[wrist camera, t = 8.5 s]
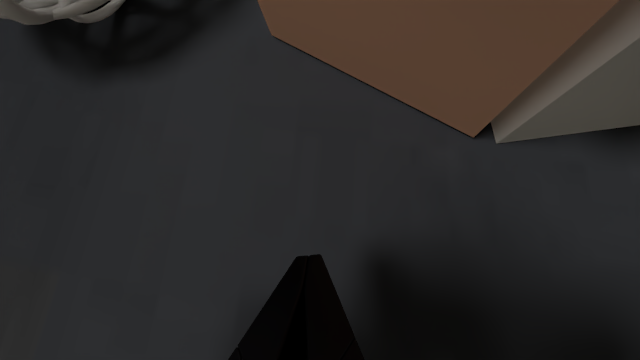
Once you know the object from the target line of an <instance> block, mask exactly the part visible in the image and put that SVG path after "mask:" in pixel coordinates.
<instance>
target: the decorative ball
mask: <svg viewBox="0 0 640 360" xmlns="http://www.w3.org/2000/svg"><path fill="white" fill-rule="evenodd" d="M107 1H109V0H0V18H2V19H12V20H14V21H17V22H20V23H22V24H25V25H38V24H44V23H47V22H50V21H53V20H58V19H66V18H69V19H72V20H74V21H76V22H79V23H94V22H98V21H101V20H103V19H105V18H107V17H109V16H111V15H112V14H113V13H114V12H115V11H117V10H118V9H119V8H120V7H121V5H122V4H123V3H124V2H125V1H126V0H111V2H109V3H108V4H107V5H105V6H104V7H102V8H101V9H99V10H97V11H94V12H92V13H88V14H84V13H86V12H89V11H91V10H94V9H96V8H98V7H99V6H101V5H103V4H104V3H106V2H107Z"/></svg>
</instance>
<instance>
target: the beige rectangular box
mask: <svg viewBox="0 0 640 360" xmlns="http://www.w3.org/2000/svg"><path fill="white" fill-rule="evenodd" d="M636 125H640V0H620V1H618V2H617V3H616V4H615V5H614V6H613V7H612V8H611V9H610V10H609V11H608V12H607V13H606V14H605V15H604V16H602V17H601V18H600V19H599V20H598V21H597V22H596V23H595V24H594V25H593V26H592V27H591V28H590V29H589V30H588V31H586V32H585V33H584V34H583V35H582V36H581V37H580V38H579V39H578V40H577V41H576V42H575V43H574V44H573V45H572V46H571V47H569V48H568V49H567V50H566V51H565V52H564V53H563V54H562V55H561V56H560V57H559V58H558V59H557V60H556V61H555V62H553V63H552V64H551V65H550V66H549V67H548V68H547V69H546V70H545V71H544V72H543V73H542V74H541V75H540V76H539V77H537V78H536V79H535V80H534V81H533V82H532V83H531V84H530V85H529V86H528V87H527V88H526V89H525V90H524V91H523V92H522V93H520V94H519V95H518V96H517V97H516V98H515V99H514V100H513V101H512V102H511V103H510V104H509V105H508V106H507V107H506V108H504V109H503V110H502V111H501V112H500V113H499V114H498V115H497V116H496V117H495V118H494V119H493V120H492V121H491V126H492V129H493V133H494V137H495V141H496V144H498V143H505V142H513V141H521V140H528V139H536V138H544V137H552V136H559V135H567V134H575V133H582V132H590V131H598V130H605V129H613V128H621V127H629V126H636Z"/></svg>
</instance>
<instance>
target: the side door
mask: <svg viewBox="0 0 640 360" xmlns="http://www.w3.org/2000/svg"><path fill="white" fill-rule="evenodd" d="M257 1H258V3H259V6H260V8H261V10H262V13H263V15H264V18H265V20H266V23H267V25H268V27H269V30H270V32H271V35H273V36H275V37H276V38H278V39H280V40H282V41H284V42H286V43H288V44H290V45H292V46H294V47H296V48H298V49H300V50H302V51H304V52H306V53H308V54H310V55H312V56H314V57H316V58H318V59H320V60H322V61H324V62H326V63H328V64H330V65H332V66H333V67H335V68H337V69H339V70H341V71H343V72H345V73H347V74H349V75H351V76H353V77H355V78H357V79H359V80H361V81H363V82H365V83H367V84H369V85H371V86H373V87H375V88H377V89H379V90H381V91H383V92H385V93H387V94H389V95H390V96H392V97H394V98H396V99H398V100H400V101H402V102H404V103H406V104H408V105H410V106H412V107H414V108H416V109H418V110H420V111H422V112H424V113H426V114H428V115H430V116H432V117H434V118H436V119H438V120H440V121H442V122H444V123H445V124H447V125H449V126H451V127H453V128H455V129H457V130H459V131H461V132H463V133H465V134H467V135H469V136H471V137H473V138H474V137H475V136H476V135H477V134H478V133H479V132H480V131H481V130H482V129H483V128H484V127H485V126H486V125H487V124H489V123H490V122H491V121H492V120H493V119H494V118H495V117H496V116H497V115H498V114H499V113H500V112H501V111H502V110H503V109H504V108H506V107H507V106H508V105H509V104H510V103H511V102H512V101H513V100H514V99H515V98H516V97H517V96H518V95H519V94H520V93H522V92H523V91H524V90H525V89H526V88H527V87H528V86H529V85H530V84H531V83H532V82H533V81H534V80H535V79H536V78H537V77H539V76H540V75H541V74H542V73H543V72H544V71H545V70H546V69H547V68H548V67H549V66H550V65H551V64H552V63H553V62H555V61H556V60H557V59H558V58H559V57H560V56H561V55H562V54H563V53H564V52H565V51H566V50H567V49H568V48H569V47H571V46H572V45H573V44H574V43H575V42H576V41H577V40H578V39H579V38H580V37H581V36H582V35H583V34H584V33H585V32H586V31H588V30H589V29H590V28H591V27H592V26H593V25H594V24H595V23H596V22H597V21H598V20H599V19H600V18H601V17H602V16H604V15H605V14H606V13H607V12H608V11H609V10H610V9H611V8H612V7H613V6H614V5H615V4H616V3H617V2H618V1H620V0H257Z"/></svg>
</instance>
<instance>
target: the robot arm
mask: <svg viewBox="0 0 640 360" xmlns="http://www.w3.org/2000/svg"><path fill="white" fill-rule="evenodd" d="M228 360H364V357H363V355H362V353H361V351H360V348H359V346H358V343H357V341H356V339H355V336H354V334H353V331H352V329H351V326H350V324H349V322H348V319H347V317H346V314H345V312H344V309H343V307H342V305H341V302H340V300H339V297H338V295H337V292H336V290H335V287H334V285H333V283H332V280H331V278H330V275H329V273H328V270H327V268H326V266H325V263H324V261H323V258H322V256H321V255H320V254H317V255H310V256H298V257H296V258H295V260H294V261H293V263H292V264H291V266H290V267H289V269H288V270H287V272H286V273H285V275H284V276H283V278H282V279H281V281H280V282H279V284H278V285H277V287H276V288H275V290H274V291H273V293H272V294H271V296H270V298H269V299H268V301H267V302H266V304H265V305H264V307H263V308H262V310H261V311H260V313H259V314H258V316H257V317H256V319H255V320H254V322H253V323H252V325H251V326H250V328H249V329H248V331H247V332H246V334H245V335H244V337H243V338H242V340H241V341H240V343H239V344H238V347H237V348H236V349H235V350H234V352H233V353H232V355H231V356H230V358H229V359H228Z"/></svg>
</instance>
